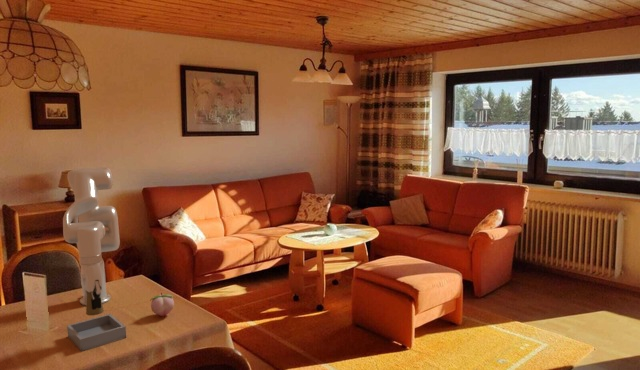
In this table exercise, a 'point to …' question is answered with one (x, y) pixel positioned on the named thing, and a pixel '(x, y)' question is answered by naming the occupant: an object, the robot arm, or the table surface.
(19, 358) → the table surface
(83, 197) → the robot arm
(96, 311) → the cork
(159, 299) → the decorative fruit
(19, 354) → the table surface
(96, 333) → the box
